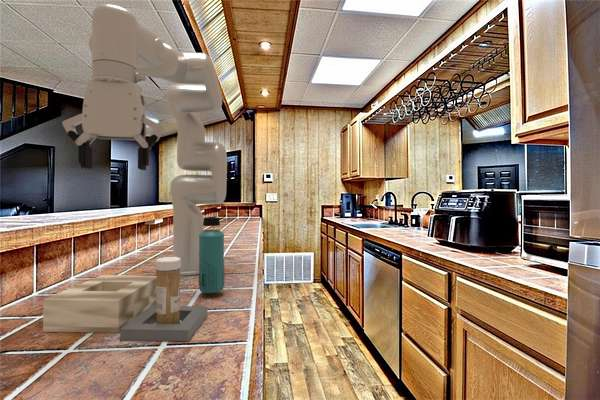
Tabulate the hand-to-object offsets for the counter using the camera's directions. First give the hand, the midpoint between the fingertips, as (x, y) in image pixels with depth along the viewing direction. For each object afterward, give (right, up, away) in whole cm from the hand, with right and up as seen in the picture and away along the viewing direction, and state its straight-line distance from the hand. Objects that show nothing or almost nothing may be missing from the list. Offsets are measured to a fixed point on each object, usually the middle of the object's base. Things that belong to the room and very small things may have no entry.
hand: (114, 168), depth 62 cm
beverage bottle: (+12, -30, +22) cm, 39 cm away
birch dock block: (-6, -30, +8) cm, 32 cm away
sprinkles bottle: (+9, -31, +2) cm, 32 cm away
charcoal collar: (+9, -31, +2) cm, 32 cm away
